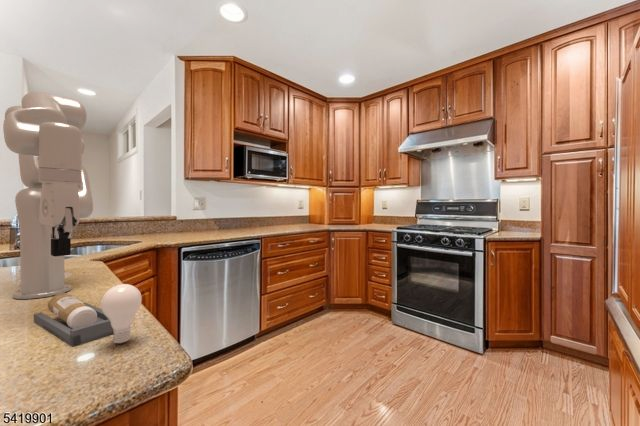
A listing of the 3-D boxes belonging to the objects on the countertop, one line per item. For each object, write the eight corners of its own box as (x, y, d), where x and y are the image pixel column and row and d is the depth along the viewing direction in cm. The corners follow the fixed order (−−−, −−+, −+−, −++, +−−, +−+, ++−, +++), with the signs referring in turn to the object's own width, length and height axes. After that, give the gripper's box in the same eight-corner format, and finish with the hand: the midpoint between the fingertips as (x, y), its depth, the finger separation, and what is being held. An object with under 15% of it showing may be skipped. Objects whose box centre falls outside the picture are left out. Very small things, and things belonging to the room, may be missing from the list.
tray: (33, 321, 65) (33, 309, 65) (85, 309, 73) (85, 298, 73) (72, 346, 53) (72, 331, 53) (128, 328, 61) (128, 315, 61)
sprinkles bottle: (43, 312, 63) (66, 332, 56) (51, 291, 64) (75, 308, 57) (68, 312, 67) (93, 331, 60) (76, 292, 68) (101, 308, 61)
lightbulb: (121, 352, 51) (121, 289, 51) (91, 349, 52) (91, 288, 52) (149, 337, 57) (149, 281, 57) (122, 334, 58) (122, 279, 58)
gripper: (28, 176, 69) (29, 253, 70) (51, 175, 61) (51, 262, 62) (68, 179, 75) (68, 249, 76) (93, 178, 67) (93, 257, 68)
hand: (60, 255), depth 69 cm, fingers closed
